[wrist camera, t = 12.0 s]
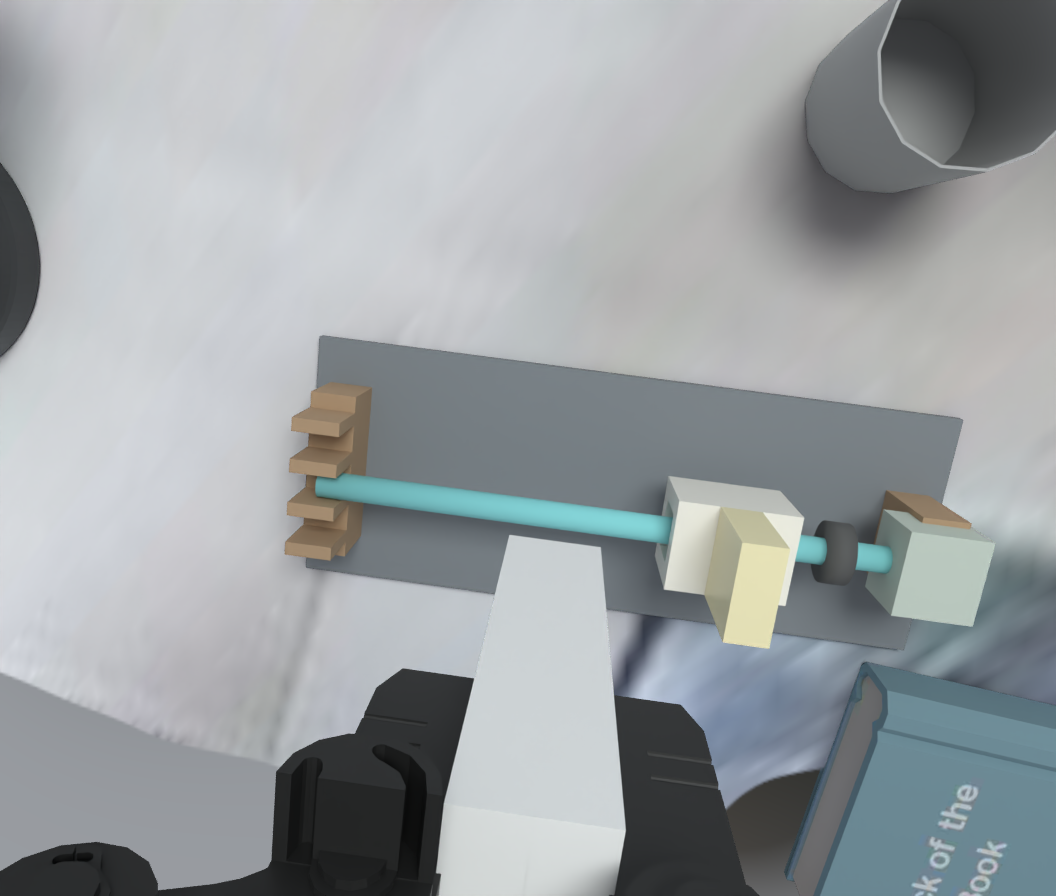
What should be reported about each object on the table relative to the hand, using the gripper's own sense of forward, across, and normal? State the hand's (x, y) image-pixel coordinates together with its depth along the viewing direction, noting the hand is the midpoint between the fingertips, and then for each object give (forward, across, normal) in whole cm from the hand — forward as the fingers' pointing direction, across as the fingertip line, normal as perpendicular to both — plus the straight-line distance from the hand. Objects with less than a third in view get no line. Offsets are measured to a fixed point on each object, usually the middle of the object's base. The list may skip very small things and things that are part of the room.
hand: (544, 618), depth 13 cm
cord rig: (+32, +4, -7) cm, 33 cm away
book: (+33, +31, -24) cm, 51 cm away
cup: (+33, +15, +15) cm, 39 cm away
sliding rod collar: (+29, +9, -7) cm, 31 cm away
